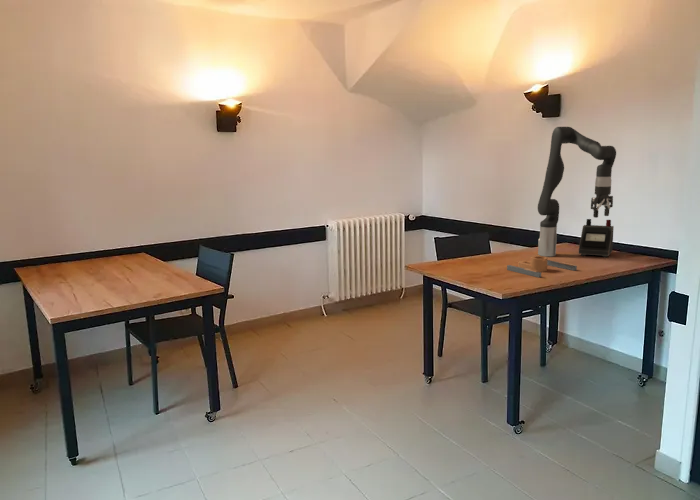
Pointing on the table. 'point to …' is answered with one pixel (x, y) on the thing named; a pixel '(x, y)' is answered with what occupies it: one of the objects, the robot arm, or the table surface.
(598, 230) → the voltmeter
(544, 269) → the bracket
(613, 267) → the table surface
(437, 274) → the table surface
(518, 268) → the guide rails
